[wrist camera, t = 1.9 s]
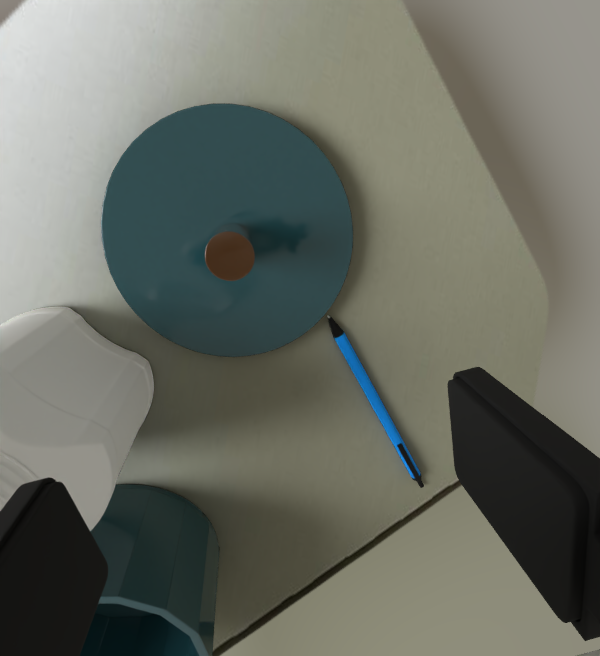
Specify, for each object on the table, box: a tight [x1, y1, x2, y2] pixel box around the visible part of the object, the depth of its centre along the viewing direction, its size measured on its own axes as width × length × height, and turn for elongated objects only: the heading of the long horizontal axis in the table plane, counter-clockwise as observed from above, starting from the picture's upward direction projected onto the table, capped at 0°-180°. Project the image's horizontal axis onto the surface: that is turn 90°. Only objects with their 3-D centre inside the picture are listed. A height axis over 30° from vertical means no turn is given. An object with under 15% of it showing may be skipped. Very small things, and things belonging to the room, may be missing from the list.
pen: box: [328, 315, 424, 488], centre depth 32 cm, size 1×19×1 cm, turn 28°
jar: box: [0, 307, 154, 531], centre depth 21 cm, size 12×10×15 cm
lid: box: [101, 104, 353, 357], centre depth 23 cm, size 16×16×7 cm
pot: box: [80, 484, 220, 656], centre depth 30 cm, size 15×15×10 cm
